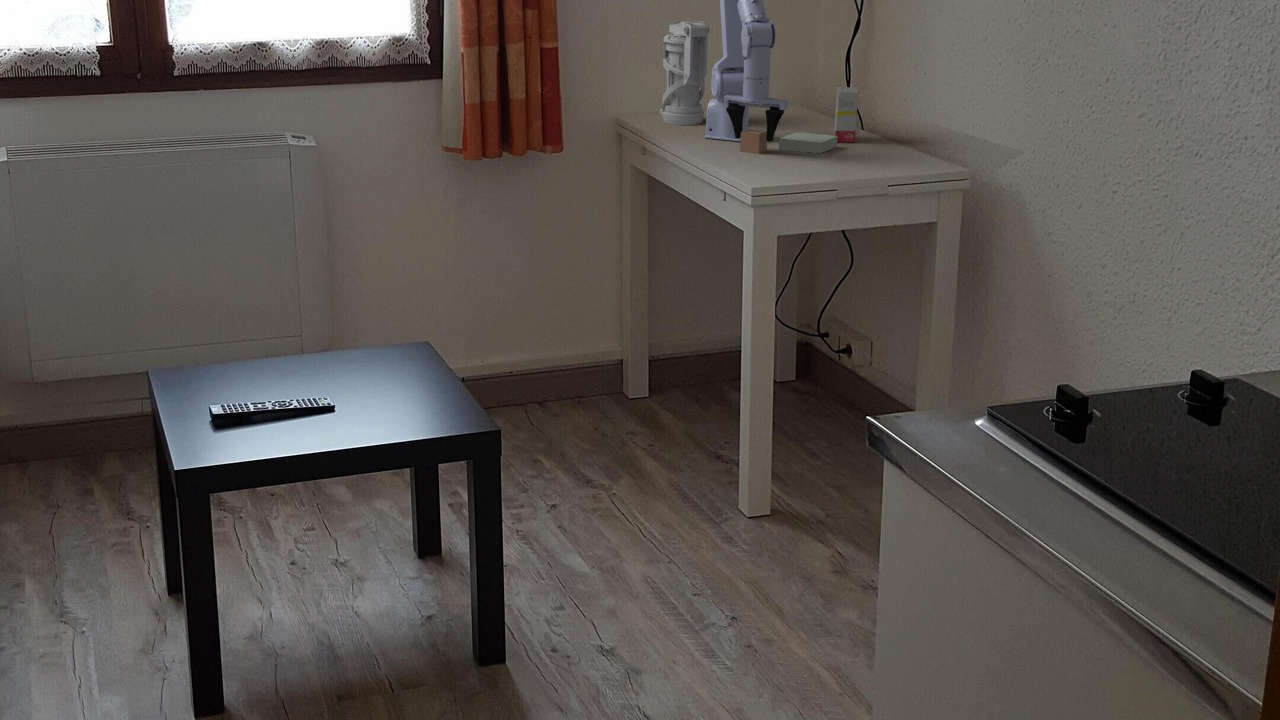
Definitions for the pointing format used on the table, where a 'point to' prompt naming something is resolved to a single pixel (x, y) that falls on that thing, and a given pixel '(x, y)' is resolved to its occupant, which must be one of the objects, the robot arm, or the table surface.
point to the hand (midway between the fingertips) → (754, 139)
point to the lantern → (685, 72)
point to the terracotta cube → (753, 141)
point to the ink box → (846, 114)
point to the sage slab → (807, 142)
